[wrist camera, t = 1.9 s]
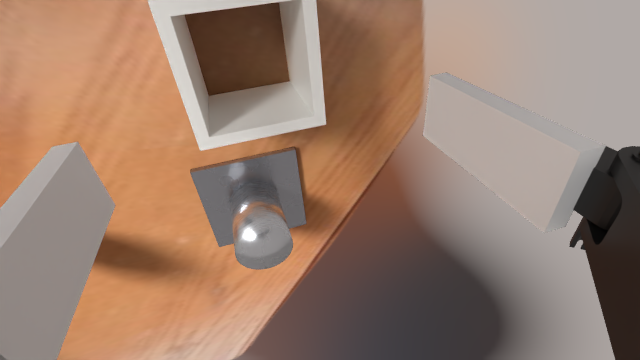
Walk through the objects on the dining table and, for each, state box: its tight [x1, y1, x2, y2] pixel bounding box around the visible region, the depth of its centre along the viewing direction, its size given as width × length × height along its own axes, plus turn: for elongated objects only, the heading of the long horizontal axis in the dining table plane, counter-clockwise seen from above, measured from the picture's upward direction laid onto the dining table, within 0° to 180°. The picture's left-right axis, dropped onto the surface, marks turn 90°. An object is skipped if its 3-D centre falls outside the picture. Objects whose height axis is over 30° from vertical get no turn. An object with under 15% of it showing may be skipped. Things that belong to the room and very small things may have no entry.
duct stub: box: [190, 147, 306, 269], centre depth 31 cm, size 10×10×8 cm
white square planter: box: [148, 0, 326, 151], centre depth 22 cm, size 9×9×8 cm
